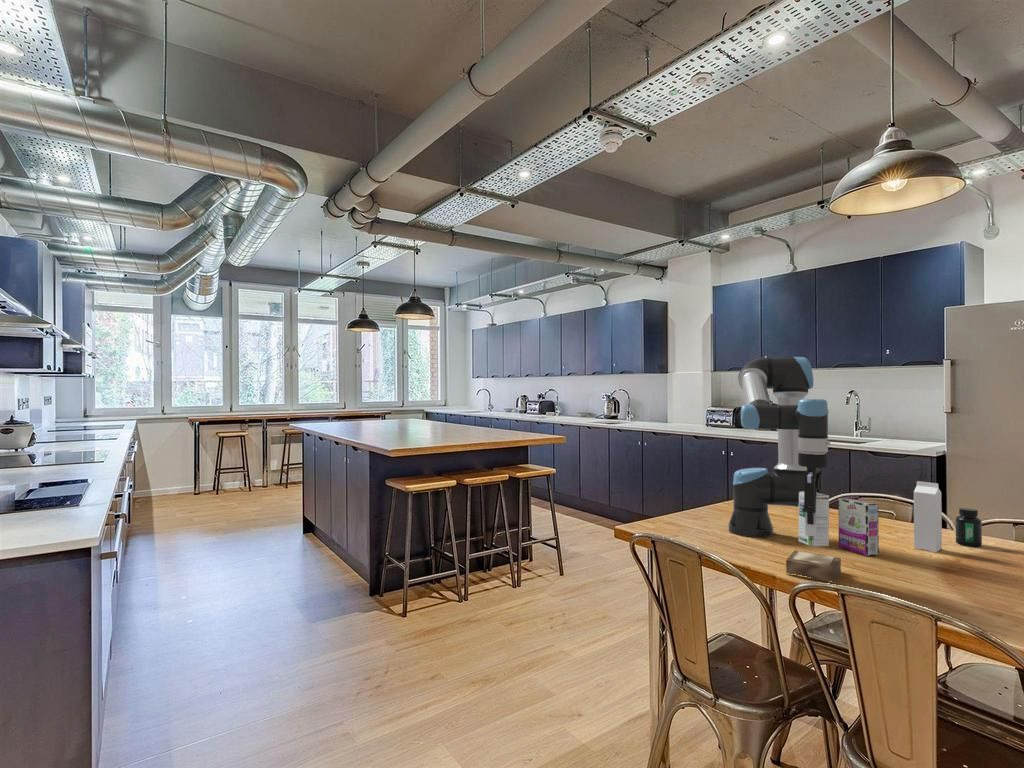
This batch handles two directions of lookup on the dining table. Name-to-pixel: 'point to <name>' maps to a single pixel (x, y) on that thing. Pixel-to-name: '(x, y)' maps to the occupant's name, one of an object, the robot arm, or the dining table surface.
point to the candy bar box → (858, 526)
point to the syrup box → (822, 521)
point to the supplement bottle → (968, 528)
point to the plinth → (814, 566)
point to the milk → (927, 516)
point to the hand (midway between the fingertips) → (813, 532)
